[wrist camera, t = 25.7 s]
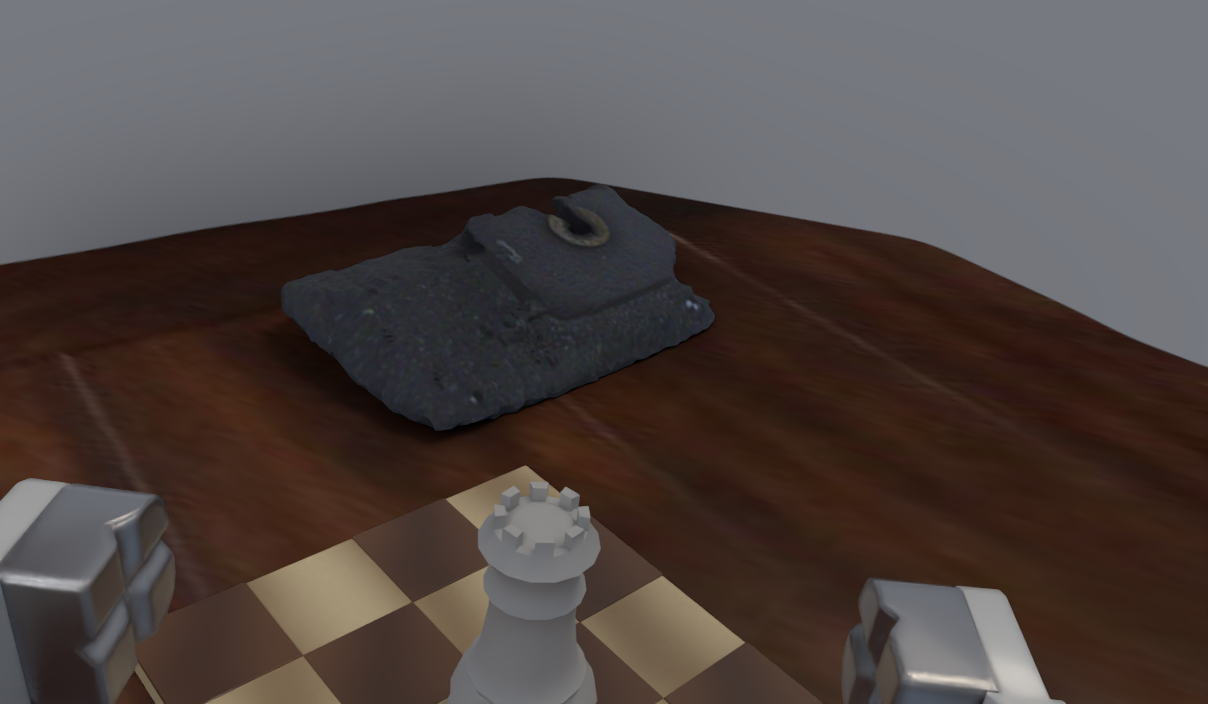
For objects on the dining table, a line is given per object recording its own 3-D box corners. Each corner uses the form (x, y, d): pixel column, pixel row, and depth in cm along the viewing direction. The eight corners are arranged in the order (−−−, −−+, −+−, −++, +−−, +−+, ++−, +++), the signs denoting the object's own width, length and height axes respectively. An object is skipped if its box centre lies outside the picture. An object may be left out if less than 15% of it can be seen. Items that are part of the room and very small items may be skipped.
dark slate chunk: (237, 315, 51) (231, 228, 49) (552, 225, 66) (559, 154, 64) (425, 458, 43) (428, 361, 40) (739, 318, 57) (755, 241, 55)
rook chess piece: (461, 654, 32) (473, 450, 28) (600, 674, 32) (632, 472, 28) (429, 774, 28) (437, 556, 24) (587, 797, 28) (621, 582, 24)
